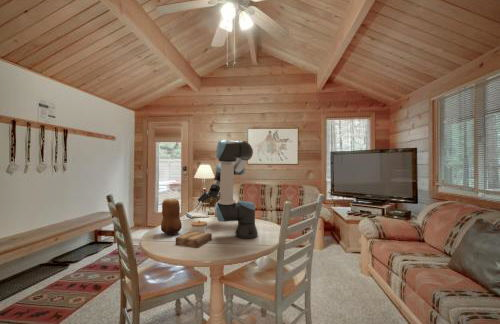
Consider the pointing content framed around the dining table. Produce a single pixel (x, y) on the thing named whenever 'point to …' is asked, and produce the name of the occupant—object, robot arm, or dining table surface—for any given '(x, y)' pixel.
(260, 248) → the dining table surface
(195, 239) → the plinth
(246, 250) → the dining table surface
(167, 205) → the butternut squash
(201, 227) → the lidded jar
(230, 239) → the dining table surface
